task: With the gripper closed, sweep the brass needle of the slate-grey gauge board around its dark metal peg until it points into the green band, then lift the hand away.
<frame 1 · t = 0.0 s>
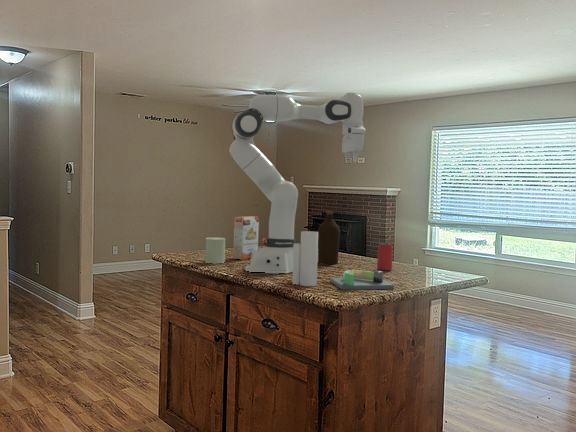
hand: (351, 162, 239), 48 cm above the table, fingers open, 8 cm apart
candle: (302, 284, 206), on the table
can: (215, 263, 252), on the table
beer can: (384, 270, 245), on the table
cracker box: (245, 258, 269), on the table
gauge board: (361, 285, 206), on the table
olive oil: (328, 263, 261), on the table
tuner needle: (367, 274, 208), point 4 cm above the table, hinge at 0.0°
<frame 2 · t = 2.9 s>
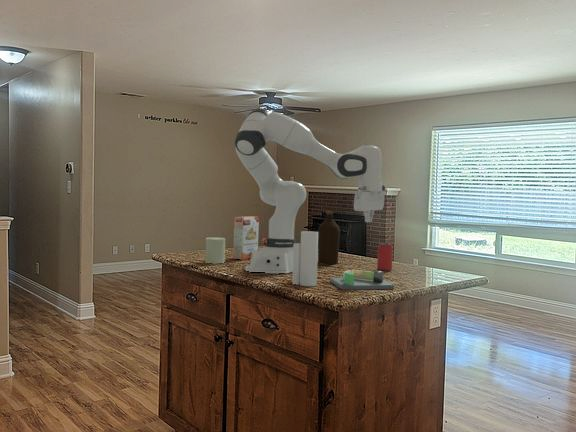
hand: (368, 222, 213), 24 cm above the table, fingers closed
nothing on the table moved.
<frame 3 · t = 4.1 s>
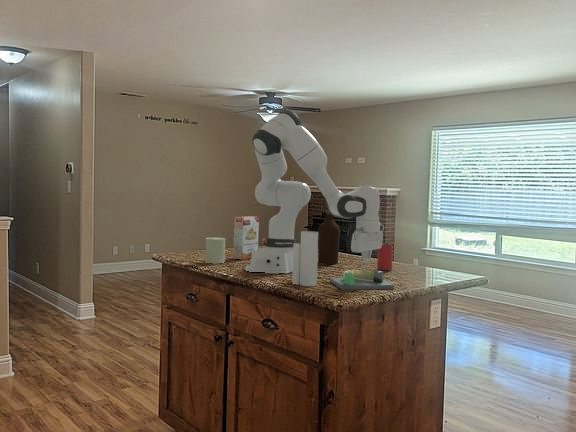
hand: (366, 261, 213), 8 cm above the table, fingers closed
nothing on the table moved.
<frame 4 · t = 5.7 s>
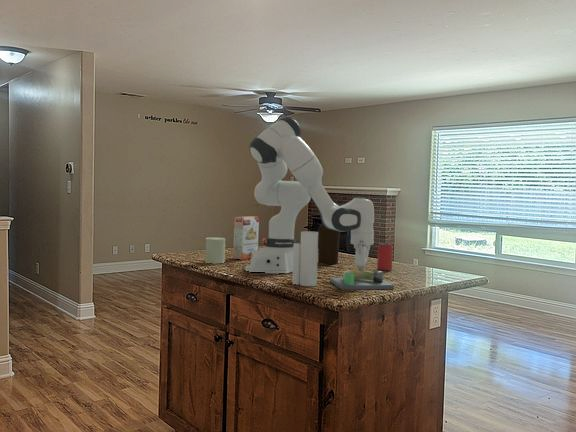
hand: (361, 274, 211), 3 cm above the table, fingers closed
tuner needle: (366, 275, 208), point 4 cm above the table, hinge at 4.0°, touching gripper
everything else where it was.
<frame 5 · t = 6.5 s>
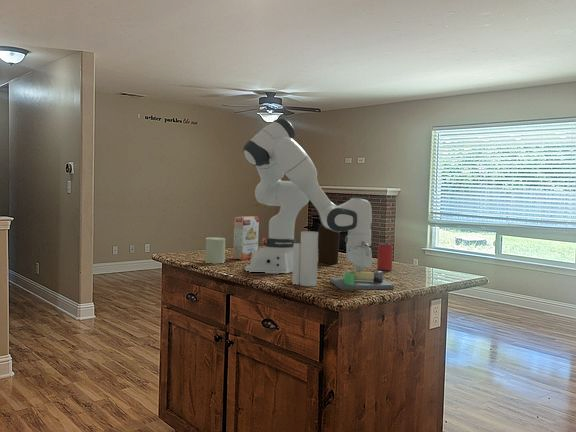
hand: (358, 275, 208), 3 cm above the table, fingers closed, pressing on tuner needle
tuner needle: (366, 275, 206), point 4 cm above the table, hinge at 26.0°, touching gripper
everything else where it was.
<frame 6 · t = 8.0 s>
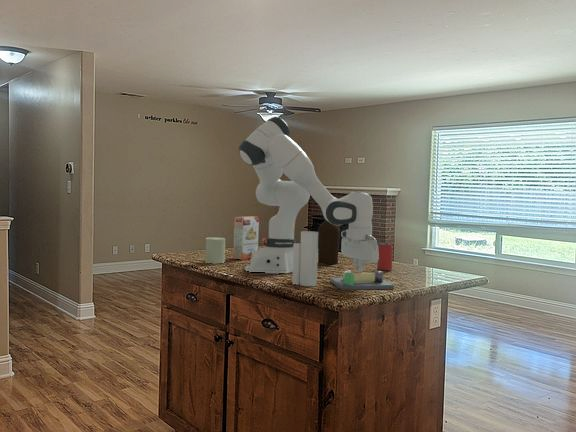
hand: (358, 270, 205), 6 cm above the table, fingers closed
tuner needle: (367, 276, 204), point 4 cm above the table, hinge at 54.7°
everything else where it was.
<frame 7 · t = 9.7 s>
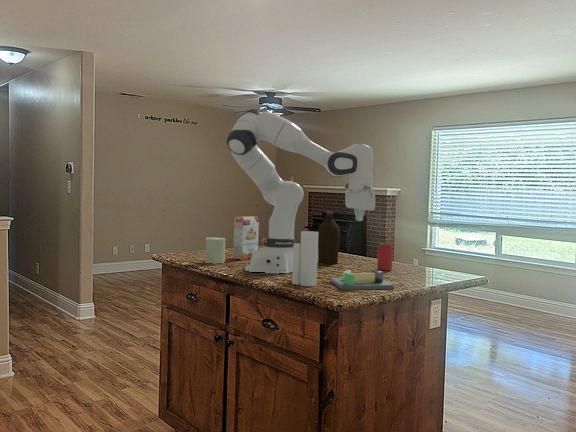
hand: (359, 220, 212), 24 cm above the table, fingers closed
nothing on the table moved.
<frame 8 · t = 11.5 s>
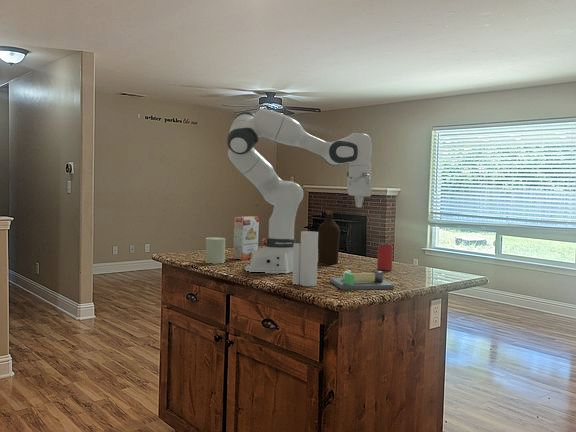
hand: (358, 207, 220), 29 cm above the table, fingers closed
nothing on the table moved.
at the end: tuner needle at +55° (first picture: +0°); the gripper is holding nothing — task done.
